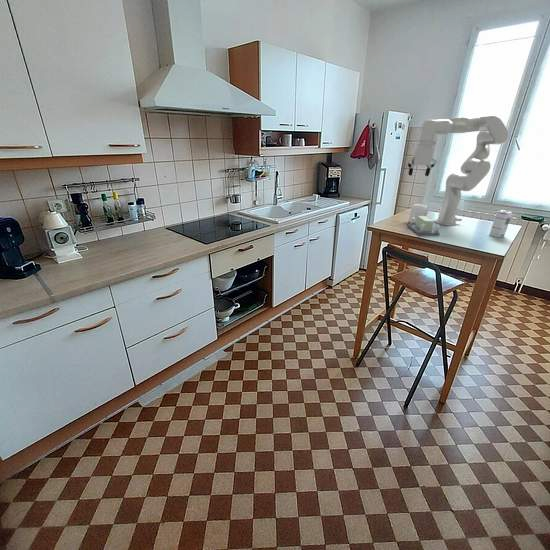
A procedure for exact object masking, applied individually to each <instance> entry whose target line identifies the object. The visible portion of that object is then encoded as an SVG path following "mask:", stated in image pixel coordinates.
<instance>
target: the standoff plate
mask: <svg viewBox="0 0 550 550" xmlns="http://www.w3.org/2000/svg"><path fill="white" fill-rule="evenodd" d="M413 222H414V217H412V218H411V222H409V223H408V224H407V226H408V227H407V228H409V229H410V230H411V229H412V230H411V231H412V232H414V233H415V232H416V233H415V234H416V235H418V236H436V235H439V236H440V235H441V233H440V232H439V230H440V225H441V224H438V223H436V226H435V229H434V227H433V228H432V231H423V229H424V225H425V224H422V225H421V229H420V228H418V227H417V226H416V223H413Z"/></svg>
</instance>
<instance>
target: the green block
mask: <svg viewBox="0 0 550 550" xmlns="http://www.w3.org/2000/svg"><path fill="white" fill-rule="evenodd" d="M434 221H435V220H433V219H432V218H429V217H428V216H418V218H417V222H416V223H415V224H416V226H417V227H418V228H420V229H421V225H422V224H425V225H424V229H423V231H432V228H433V229H434V224H435V222H434Z"/></svg>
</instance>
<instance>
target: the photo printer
mask: <svg viewBox="0 0 550 550" xmlns="http://www.w3.org/2000/svg"><path fill="white" fill-rule="evenodd" d="M428 213H429V207H428V206H427V205H425V204H422V203H414V204H412V206H411V209H410V213H409V218H408V223H411V218H412V217H414V222H413V224H416V222H417V218H418V216H426V217H428Z"/></svg>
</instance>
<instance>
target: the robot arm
mask: <svg viewBox="0 0 550 550" xmlns="http://www.w3.org/2000/svg"><path fill="white" fill-rule="evenodd" d="M474 132H478V133H477V136H476V145H475V150H474V151H473V152H472V153H471V154H470V155H469V156H468V158H466V160H465V161H464V162H463V163H462V165H461V166H460V172H453V173H451V174H449V175H448V176H447V178H446V180H445V190H444V195H443V198H442V202H441V206H440V209H439V213H438V217H437V218H436V219H434V220H433V221H434V223H436V224H438V223H439V224H438V225H441V226H443V225H444V226H456V224H457V222H462V220H463V218H461V217H459V218H458V217H456V215H457V212H458V209H459V205H460V202H461V198H462V191H463V192H470V191H472V190H474V189H475V188H476V187H477V185H479V184H480V182H482V180H483V179H484V178H485V177H486V176H487V175H488V174H489V173H490V170H491V162H490V161H489V160H488V157H489V156H490V153H491V152H490V151H491V149H490V148H491V147H490V145H501V144H504V143H505V142H506V141H507V140H508V138H509V130H508V127H506V125H505V123H504V121H503V120H502V119H501V117H500V116H498V115H497V114H495V113H491V114H490V113H489V114H487V113H486V114H478V115H477V114H475V115H468V116H459V117H452V118H444V119H426V120H424V121H423V122H422V128H421V131H420V135H419V139H418V140H419V141H418V145H417V146H416V147H415V148H414V151H413V155H412V157H411V158H408V159H406V165H407V166H408V172H407V173H408V176H413V171H414V167H416V166H426V167H427V168H426V169H425V173H424V176H425V177H429V175H430V174H431V169H433V167H435V165H436V164H437V163H438V161H437V160H436V159H435V158H433V156H434V155H433V154H434V147H433V146H435V145H436V142H435V137H436V136H437V135H439V136H445V135H448V134H464V133H474Z"/></svg>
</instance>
